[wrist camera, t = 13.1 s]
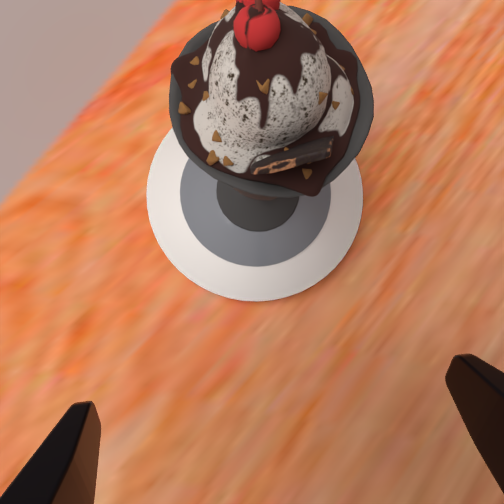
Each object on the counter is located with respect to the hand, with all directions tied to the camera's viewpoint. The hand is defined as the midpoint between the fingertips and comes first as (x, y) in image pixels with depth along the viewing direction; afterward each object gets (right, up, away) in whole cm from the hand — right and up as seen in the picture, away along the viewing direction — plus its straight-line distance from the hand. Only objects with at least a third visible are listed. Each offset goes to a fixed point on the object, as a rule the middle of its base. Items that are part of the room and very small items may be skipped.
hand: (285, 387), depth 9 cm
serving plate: (-1, +7, +14) cm, 16 cm away
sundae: (0, +7, +13) cm, 15 cm away
